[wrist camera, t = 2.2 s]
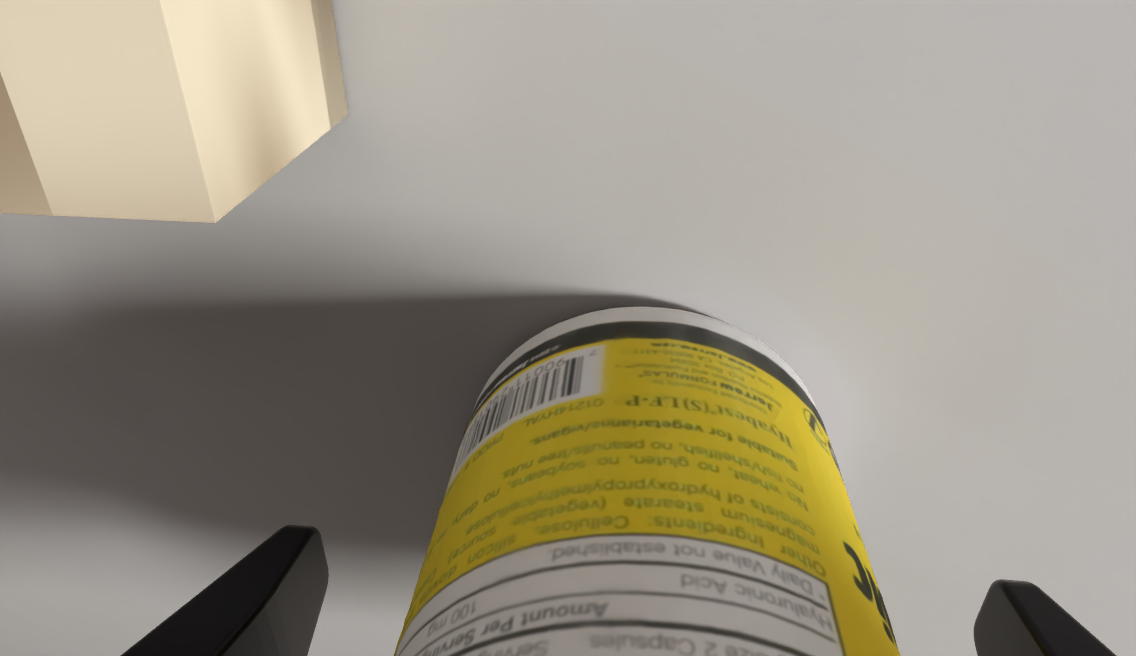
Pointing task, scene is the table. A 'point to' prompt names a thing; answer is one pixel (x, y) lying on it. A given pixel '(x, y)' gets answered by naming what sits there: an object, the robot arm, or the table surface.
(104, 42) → the square holder
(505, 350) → the table surface
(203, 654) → the robot arm
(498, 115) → the table surface
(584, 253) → the table surface
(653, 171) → the table surface
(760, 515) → the supplement bottle
